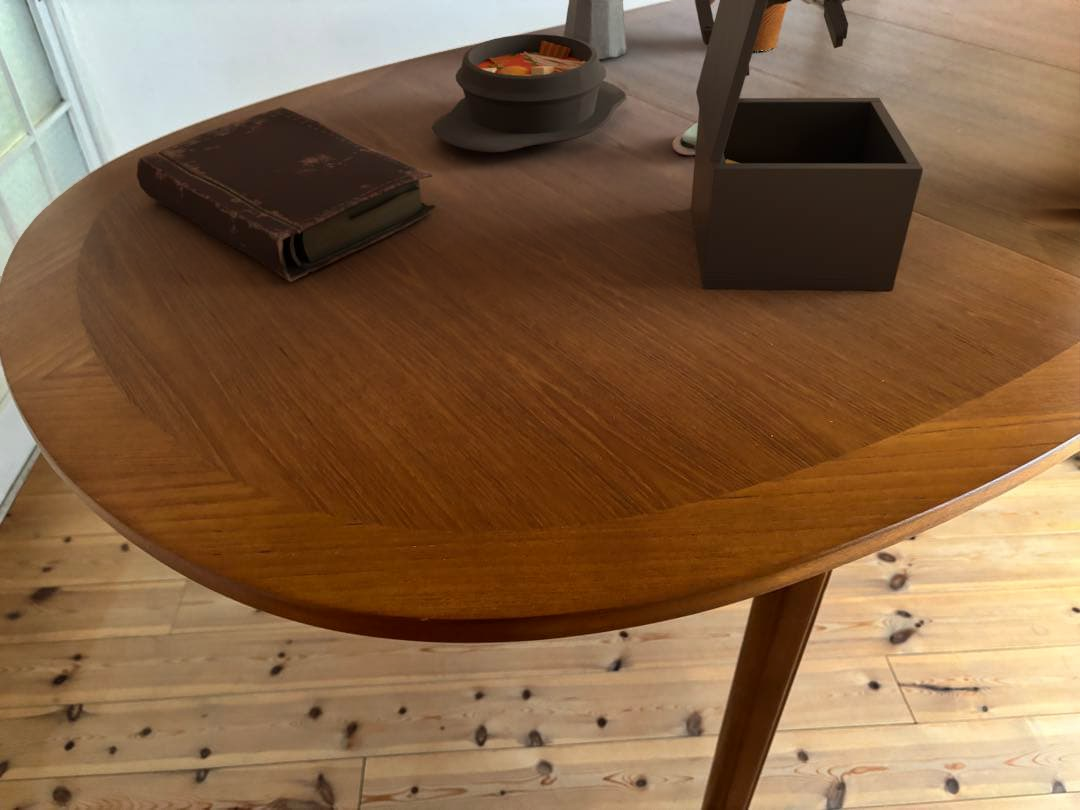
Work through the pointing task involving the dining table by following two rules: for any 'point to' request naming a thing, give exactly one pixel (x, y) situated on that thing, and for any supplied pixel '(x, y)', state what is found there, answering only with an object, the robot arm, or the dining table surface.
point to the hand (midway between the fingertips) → (792, 57)
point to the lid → (727, 68)
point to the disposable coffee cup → (770, 27)
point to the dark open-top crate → (804, 197)
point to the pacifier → (688, 137)
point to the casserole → (528, 94)
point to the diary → (285, 190)
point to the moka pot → (597, 25)
